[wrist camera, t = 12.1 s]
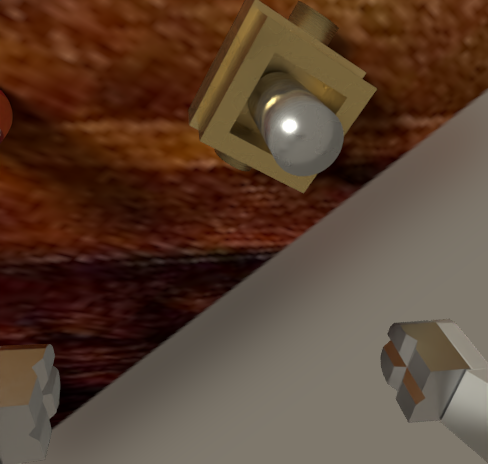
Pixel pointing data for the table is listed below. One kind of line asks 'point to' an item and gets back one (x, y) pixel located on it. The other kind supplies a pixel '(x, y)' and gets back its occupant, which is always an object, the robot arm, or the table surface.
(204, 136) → the valve body
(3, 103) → the paper cup
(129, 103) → the table surface
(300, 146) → the silver metal cylinder
